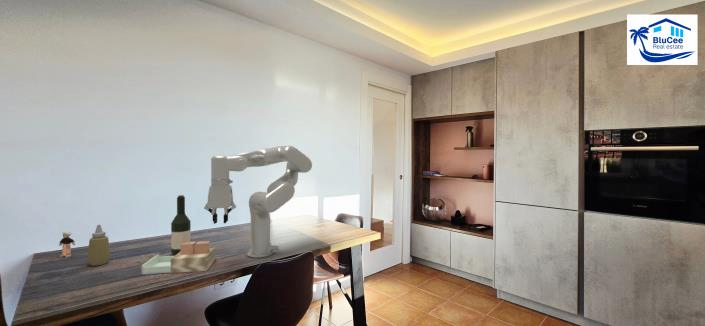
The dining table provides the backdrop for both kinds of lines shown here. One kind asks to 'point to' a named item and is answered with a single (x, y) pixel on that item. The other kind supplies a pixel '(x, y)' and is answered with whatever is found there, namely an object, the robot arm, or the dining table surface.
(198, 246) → the block
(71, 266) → the dining table surface
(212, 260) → the plate
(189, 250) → the block
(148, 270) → the tray
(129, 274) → the dining table surface
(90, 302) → the dining table surface
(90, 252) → the squeeze bottle
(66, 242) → the grandmother figurine
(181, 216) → the wine bottle
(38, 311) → the dining table surface
